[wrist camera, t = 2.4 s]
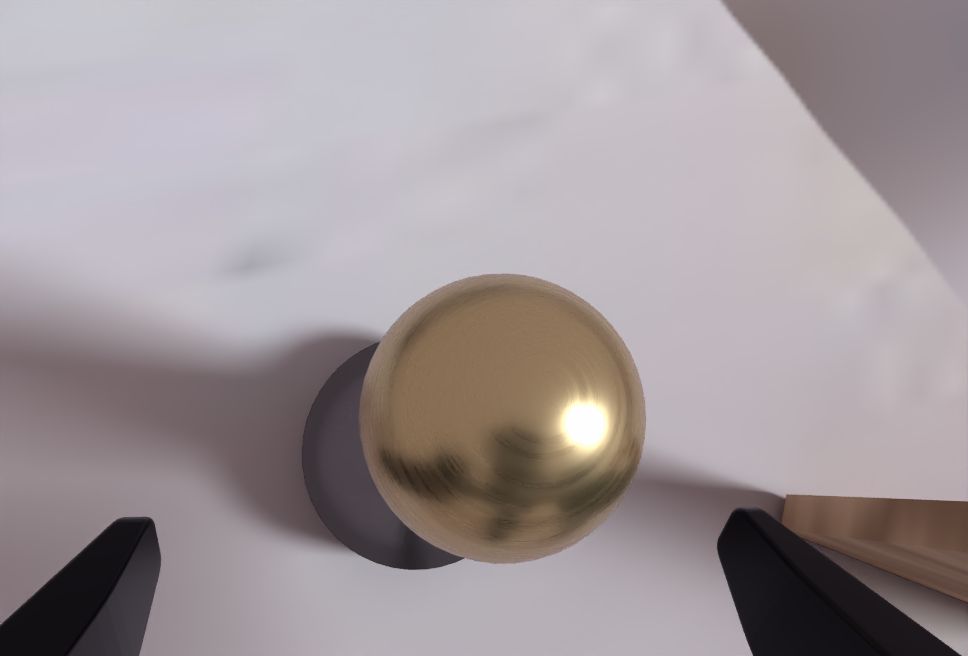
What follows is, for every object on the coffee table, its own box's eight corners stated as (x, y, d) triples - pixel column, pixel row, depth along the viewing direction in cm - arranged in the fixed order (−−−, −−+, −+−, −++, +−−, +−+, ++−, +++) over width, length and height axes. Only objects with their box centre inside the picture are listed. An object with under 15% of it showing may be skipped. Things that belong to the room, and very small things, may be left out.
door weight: (475, 589, 18) (761, 856, 5) (270, 516, 17) (45, 630, 5) (539, 391, 19) (860, 247, 7) (358, 319, 19) (367, 19, 6)
